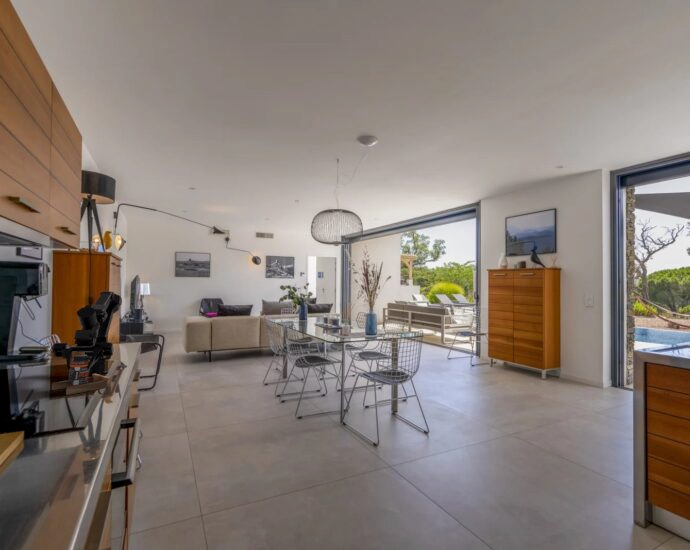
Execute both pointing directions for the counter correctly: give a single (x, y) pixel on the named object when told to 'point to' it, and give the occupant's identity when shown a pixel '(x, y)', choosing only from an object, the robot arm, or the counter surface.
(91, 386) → the comb channel
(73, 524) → the counter surface
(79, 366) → the supplement bottle
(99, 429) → the counter surface
